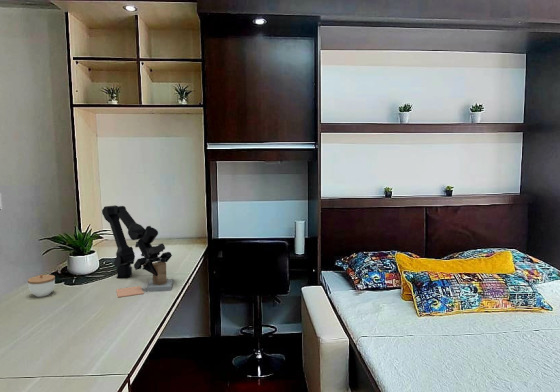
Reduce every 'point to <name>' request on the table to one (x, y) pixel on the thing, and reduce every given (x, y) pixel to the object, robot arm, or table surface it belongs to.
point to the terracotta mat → (129, 291)
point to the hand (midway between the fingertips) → (161, 274)
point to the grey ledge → (159, 286)
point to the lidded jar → (41, 285)
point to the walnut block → (160, 273)
